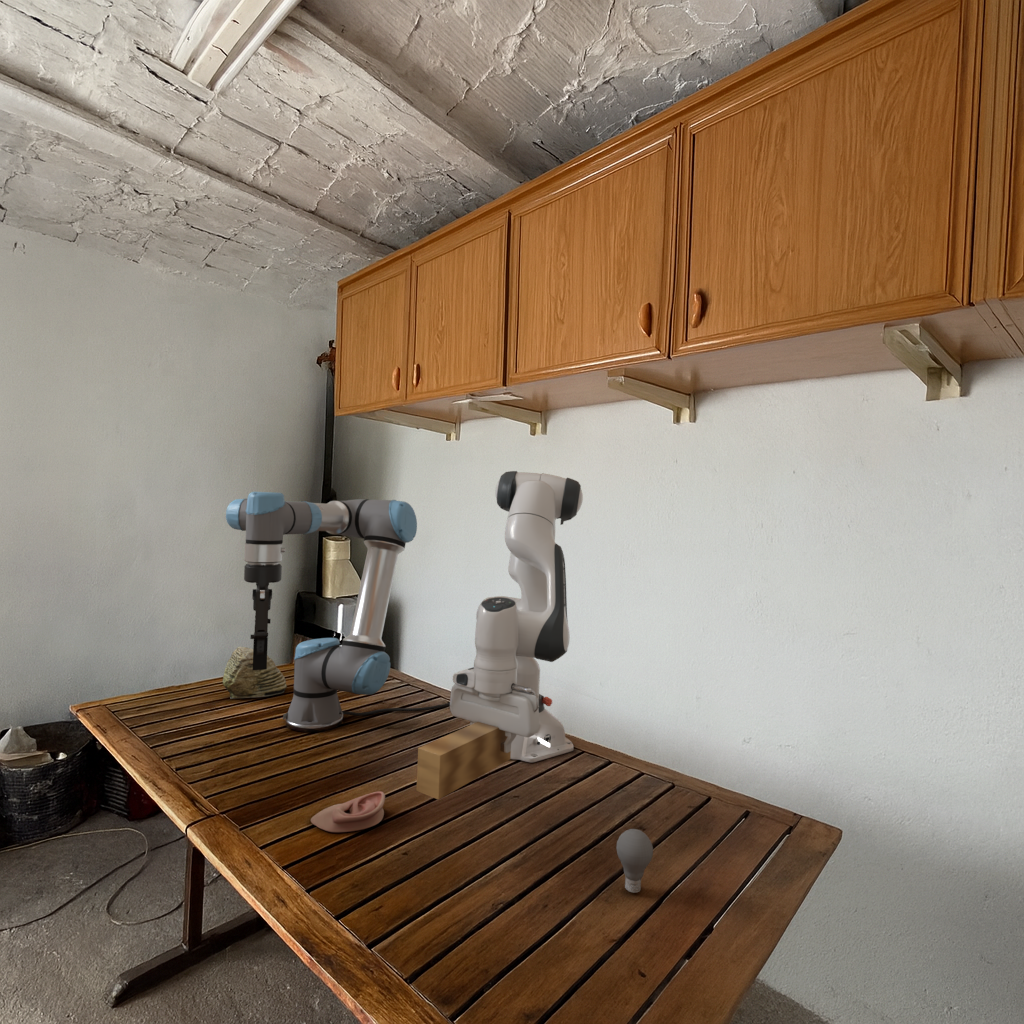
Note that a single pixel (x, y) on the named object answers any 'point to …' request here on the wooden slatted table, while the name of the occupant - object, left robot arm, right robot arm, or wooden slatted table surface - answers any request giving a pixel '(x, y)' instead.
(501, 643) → the right robot arm
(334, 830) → the anatomical model
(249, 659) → the fossil
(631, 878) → the light bulb
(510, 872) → the wooden slatted table surface
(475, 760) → the bar
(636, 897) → the wooden slatted table surface
